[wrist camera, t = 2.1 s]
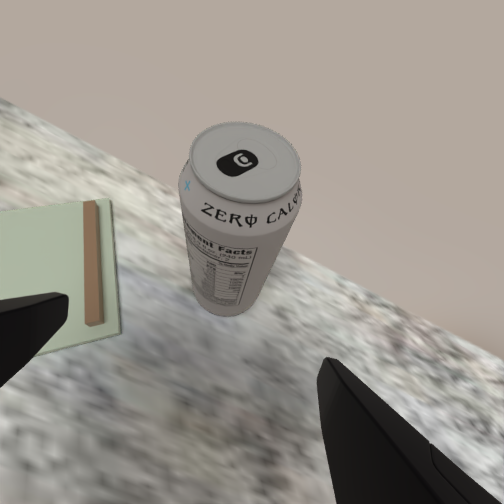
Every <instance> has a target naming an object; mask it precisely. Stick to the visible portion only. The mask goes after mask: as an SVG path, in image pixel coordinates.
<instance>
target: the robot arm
mask: <svg viewBox="0 0 504 504" xmlns="http://www.w3.org/2000/svg"><path fill="white" fill-rule="evenodd" d="M68 308H69V297H68V295H66V294H63V293H59V292H50V293H43V294H36V295H29V296H23V297H16V298H9V299H2V300H0V388H1V387H2V386H3V385H4V384H5V383H6V382H7V381H8V380H9V379H11V378H12V377H13V376H14V375H15V374H16V373H17V372H18V371H19V370H21V369H22V368H23V367H24V366H25V365H26V364H27V363H28V362H29V361H30V360H31V359H32V358H33V357H34V356H35V355H36V354H37V353H38V352H39V351H40V350H41V348H42V347H43V346H44V345H45V344H46V343H47V342H48V341H49V340H50V339H51V338H52V337H53V336H54V334H55V333H56V332H57V331H58V330H59V329H60V328H61V327H62V326H63V325H64V324H65V322H66V320H67V318H68ZM317 391H318V401H319V411H320V421H321V429H322V434H323V440H324V445H325V450H326V454H327V459H328V464H329V469H330V474H331V479H332V484H333V489H334V494H335V499H336V504H502V503H501V502H499V501H498V500H497V499H496V498H494V497H493V496H492V495H491V494H490V493H488V492H487V491H486V490H485V489H484V488H483V487H481V486H480V485H479V484H478V483H477V482H475V481H474V480H473V479H472V478H471V477H469V476H468V475H467V474H466V473H465V472H463V471H462V470H461V469H460V468H459V467H458V466H457V465H455V464H454V463H453V462H452V461H451V460H450V459H449V458H447V457H446V456H445V455H444V454H443V453H442V452H441V451H440V450H438V449H437V448H436V447H435V446H434V445H433V444H430V443H429V441H428V440H427V439H426V438H425V437H424V436H423V435H422V434H420V433H419V432H418V431H417V430H416V429H415V428H414V427H413V426H411V425H410V424H409V423H408V422H407V421H406V420H405V419H404V418H403V417H401V416H400V415H399V414H398V413H397V412H396V411H395V410H394V409H392V408H391V407H390V406H389V405H388V404H387V403H386V402H385V401H383V400H382V399H381V398H380V397H379V396H378V395H377V394H376V393H375V392H373V391H372V390H371V389H370V388H369V387H368V386H367V385H366V384H364V383H363V382H362V381H361V380H360V379H359V378H358V377H357V376H355V375H354V374H353V373H352V372H351V371H350V370H349V369H348V368H347V367H345V366H344V365H343V364H342V363H341V362H340V361H339V360H337V359H334V358H330V357H326V358H325V359H324V360H323V363H322V365H321V368H320V371H319V373H318V376H317Z"/></svg>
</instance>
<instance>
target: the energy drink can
mask: <svg viewBox="0 0 504 504" xmlns="http://www.w3.org/2000/svg"><path fill="white" fill-rule="evenodd" d="M300 171H301V163H300V158H299V156H298V154H297V152H296V150H295V149H294V147H293V146H292V144H290V142H288V141H287V140H286V139H285V138H284V137H283V136H281V135H280V134H278V133H276V132H275V131H273V130H271V129H269V128H266V127H263V126H261V125H257V124H253V123H247V122H226V123H220V124H217V125H214V126H211V127H209V128H207V129H205V130H204V131H202V132H201V133H200V134H198V136H197V137H196V138H195V139H194V141H193V142H192V145H191V147H190V152H189V159H188V161H187V162H186V164H185V165H184V167H183V169H182V171H181V173H180V176H179V183H178V187H179V196H180V203H181V209H182V216H183V223H184V230H185V237H186V244H187V251H188V257H189V264H190V271H191V278H192V285H193V292H194V295H195V297H196V299H197V301H198V302H199V304H200V305H201V306H202V307H203V308H204V309H206V310H207V311H209V312H211V313H213V314H215V315H219V316H234V315H238V314H240V313H243V312H244V311H246V310H247V309H249V308H250V307H251V306H252V305H253V303H254V302H255V300H256V299H257V297H258V295H259V293H260V291H261V289H262V286H263V284H264V282H265V280H266V278H267V276H268V274H269V272H270V270H271V268H272V266H273V264H274V262H275V260H276V257H277V255H278V253H279V251H280V249H281V247H282V245H283V243H284V241H285V239H286V237H287V235H288V233H289V231H290V228H291V226H292V224H293V222H294V220H295V218H296V216H297V214H298V212H299V209H300V206H301V203H302V190H301V185H300V181H299V176H300Z"/></svg>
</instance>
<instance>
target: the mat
mask: <svg viewBox="0 0 504 504" xmlns="http://www.w3.org/2000/svg"><path fill="white" fill-rule="evenodd" d="M50 292H59V293H63V294H66V295H68V297H69V308H68V318H67V320H66V322H65V324H64V325H63V326H62V327H61V328H60V329H59V330H58V331H57V332H56V333H55V334H54V336H53V337H52V338H51V339H50V340H49V341H48V342H47V343H46V344H45V345H44V346H43V347H42V348H41V350H40V351H39V352H38V353H37V354H36V355H35V356H34V357H36V356H39V355H43V354H47V353H51V352H55V351H59V350H62V349H66V348H70V347H74V346H78V345H81V344H85V343H89V342H93V341H97V340H101V339H104V338H108V337H112V336H116V335H120V334H121V327H120V314H119V301H118V288H117V275H116V262H115V249H114V236H113V223H112V210H111V201H110V199H109V198H105V199H97V200H89V201H81V202H73V203H65V204H57V205H49V206H40V207H32V208H24V209H16V210H8V211H0V300H2V299H9V298H16V297H23V296H29V295H36V294H43V293H50Z"/></svg>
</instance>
